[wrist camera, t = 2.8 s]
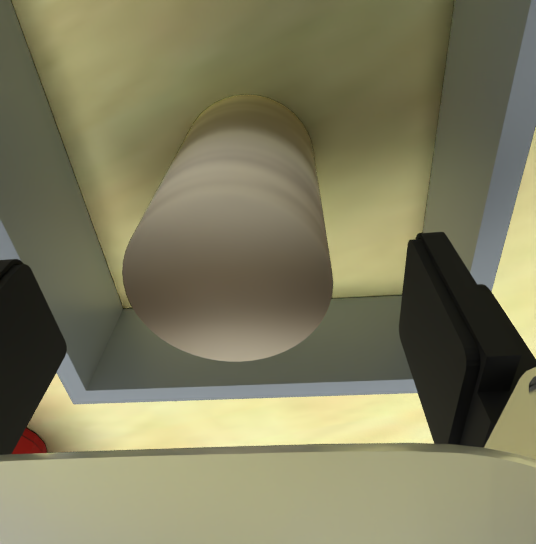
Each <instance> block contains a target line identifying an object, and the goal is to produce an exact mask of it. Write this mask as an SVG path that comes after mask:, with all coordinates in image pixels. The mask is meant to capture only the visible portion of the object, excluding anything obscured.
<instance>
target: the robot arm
mask: <svg viewBox="0 0 536 544" xmlns="http://www.w3.org/2000/svg"><path fill="white" fill-rule="evenodd" d="M399 336H400V340H401V343H402V346H403V349H404V352H405V355H406V359H407V362H408V365H409V368H410V371H411V374H412V377H413V380H414V383H415V386H416V389H417V392H418V395H419V398H420V401H421V404H422V407H423V410H424V413H425V416H426V419H427V422H428V425H429V429H430V432H431V435H432V438H433V441H434V444H427V443H363V444H308V445H273V446H238V447H204V448H173V449H143V450H114V451H86V452H58V453H33V454H12V452H13V451H14V449H15V447H16V445H17V443H18V441H19V440H20V438H21V436H22V434H23V432H24V430H25V429H26V427H27V425H28V423H29V421H30V420H31V418H32V416H33V414H34V412H35V410H36V409H37V407H38V405H39V403H40V401H41V399H42V398H43V396H44V394H45V392H46V390H47V389H48V387H49V385H50V383H51V381H52V379H53V378H54V376H55V374H56V372H57V370H58V369H59V367H60V365H61V363H62V361H63V359H64V358H65V355H66V352H67V345H66V342H65V339H64V337H63V335H62V333H61V331H60V329H59V327H58V325H57V322H56V320H55V318H54V316H53V314H52V312H51V310H50V308H49V306H48V303H47V301H46V299H45V297H44V295H43V293H42V291H41V289H40V287H39V284H38V282H37V280H36V278H35V276H34V274H33V272H32V270H31V268H30V267H29V266H28V265H26V264H24V263H23V262H22V261H21V260H19V259H8V260H0V544H536V359H535V357H534V356H533V354H532V353H531V351H530V350H529V348H528V347H527V345H526V344H525V342H524V341H523V339H522V338H521V336H520V335H519V333H518V332H517V330H516V329H515V327H514V326H513V324H512V322H511V321H510V319H509V318H508V316H507V315H506V313H505V312H504V310H503V309H502V307H501V306H500V304H499V303H498V301H497V300H496V298H495V297H494V295H493V294H492V292H491V291H490V289H489V288H488V287H487V286H486V285H483V284H477V283H476V282H475V280H474V278H473V277H472V275H471V274H470V272H469V270H468V269H467V267H466V266H465V264H464V262H463V261H462V259H461V258H460V256H459V255H458V253H457V251H456V250H455V248H454V247H453V245H452V243H451V242H450V240H449V239H448V237H447V235H446V234H445V233H444V232H431V233H418V234H417V237H416V240H409V242H408V248H407V257H406V266H405V275H404V284H403V293H402V302H401V311H400V320H399Z"/></svg>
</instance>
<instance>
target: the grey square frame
mask: <svg viewBox="0 0 536 544" xmlns="http://www.w3.org/2000/svg"><path fill="white" fill-rule="evenodd" d="M535 127H536V0H455V2H454V9H453V17H452V24H451V31H450V38H449V46H448V53H447V60H446V67H445V75H444V82H443V89H442V96H441V104H440V111H439V118H438V125H437V133H436V140H435V147H434V154H433V162H432V169H431V176H430V183H429V191H428V198H427V205H426V212H425V220H424V227H423V233H431V232H444V233H445V234H446V235H447V237H448V239H449V240H450V242H451V243H452V245H453V247H454V248H455V250H456V251H457V253H458V255H459V256H460V258H461V259H462V261H463V262H464V264H465V266H466V267H467V269H468V270H469V272H470V274H471V275H472V277H473V278H474V280H475V282H476V283H477V284H483V285H486V286H487V287H488V288H489V289H490V291H492V287H493V284H494V280H495V276H496V272H497V269H498V265H499V261H500V258H501V254H502V250H503V246H504V243H505V239H506V235H507V231H508V228H509V224H510V220H511V216H512V213H513V209H514V205H515V201H516V198H517V194H518V190H519V186H520V183H521V179H522V175H523V171H524V168H525V164H526V160H527V156H528V153H529V149H530V145H531V142H532V138H533V134H534V130H535ZM8 259H19V260H21V261H22V262H23V263H24V264H26V265H28V266H29V267H30V268H31V270H32V272H33V274H34V276H35V278H36V280H37V282H38V284H39V287H40V289H41V291H42V293H43V295H44V297H45V299H46V301H47V303H48V306H49V308H50V310H51V312H52V314H53V316H54V318H55V320H56V322H57V325H58V327H59V329H60V331H61V333H62V335H63V337H64V339H65V342H66V345H67V352H66V355H65V358H64V359H63V361H62V363H61V365H60V367H59V369H58V370H57V372H56V373H57V374H58V376H59V378H60V380H61V382H62V384H63V386H64V387H65V389H66V391H67V393H68V395H69V397H70V399H71V400H72V402H73V404H95V403H126V402H156V401H187V400H217V399H247V398H278V397H308V396H338V395H369V394H399V393H418V392H417V389H416V386H415V383H414V380H413V377H412V374H411V371H410V368H409V365H408V362H407V359H406V355H405V352H404V349H403V346H402V343H401V340H400V336H399V320H400V311H401V302H402V295H398V296H378V297H357V298H337V299H331V301H330V305H329V308H328V310H327V312H326V315H325V316H324V318H323V320H322V321H321V323H320V324H319V325H318V327H317V328H316V329H315V330H314V331H313V332H312V333H311V334H310V335H309V336H308V337H307V338H306V339H305V340H303V341H302V342H300V343H299V344H297V345H296V346H294V347H292V348H291V349H289V350H287V351H285V352H282V353H280V354H277V355H274V356H271V357H267V358H264V359H258V360H253V361H242V362H228V361H218V360H212V359H207V358H203V357H199V356H196V355H192V354H190V353H187V352H185V351H182V350H180V349H178V348H176V347H174V346H172V345H170V344H169V343H167V342H166V341H164V340H162V339H161V338H160V337H158V336H157V335H156V334H155V333H153V332H152V331H151V330H150V329H149V328H148V327H147V326H146V325H145V324H144V323H143V322H142V321H141V319H140V318H139V317H138V315H137V314H136V313H135V311H134V309H133V308H132V309H123V307H122V304H121V302H120V299H119V296H118V293H117V291H116V288H115V285H114V282H113V280H112V277H111V274H110V271H109V269H108V266H107V263H106V260H105V258H104V255H103V252H102V250H101V247H100V244H99V241H98V239H97V236H96V233H95V230H94V228H93V225H92V222H91V219H90V217H89V214H88V211H87V208H86V206H85V203H84V200H83V197H82V195H81V192H80V189H79V186H78V184H77V181H76V178H75V175H74V173H73V170H72V167H71V164H70V162H69V159H68V156H67V153H66V151H65V148H64V145H63V142H62V140H61V137H60V134H59V131H58V129H57V126H56V123H55V120H54V118H53V115H52V112H51V109H50V107H49V104H48V101H47V98H46V96H45V93H44V90H43V87H42V85H41V82H40V79H39V76H38V74H37V71H36V68H35V66H34V63H33V60H32V57H31V55H30V52H29V49H28V46H27V44H26V41H25V38H24V35H23V33H22V30H21V27H20V24H19V22H18V19H17V16H16V13H15V11H14V8H13V5H12V2H11V0H0V260H8Z"/></svg>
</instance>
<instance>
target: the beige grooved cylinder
mask: <svg viewBox="0 0 536 544" xmlns="http://www.w3.org/2000/svg"><path fill="white" fill-rule="evenodd" d="M122 275H123V284H124V288H125V291H126V295H127V297H128V300H129V302H130V304H131V306H132V308H133V309H134V311H135V313H136V314H137V315H138V317H139V318H140V319H141V321H142V322H143V323H144V324H145V325H146V326H147V327H148V328H149V329H150V330H151V331H152V332H153V333H155V334H156V335H157V336H158V337H160V338H161V339H162V340H164V341H166V342H167V343H169V344H170V345H172V346H174V347H176V348H178V349H180V350H182V351H185V352H187V353H190V354H192V355H196V356H199V357H203V358H207V359H212V360H218V361H228V362H242V361H253V360H258V359H264V358H267V357H271V356H274V355H277V354H280V353H282V352H285V351H287V350H289V349H291V348H292V347H294V346H296V345H297V344H299V343H300V342H302V341H303V340H305V339H306V338H307V337H308V336H309V335H310V334H311V333H312V332H313V331H314V330H315V329H316V328H317V327H318V325H319V324H320V323H321V321H322V320H323V318H324V316H325V315H326V312H327V310H328V308H329V305H330V301H331V297H332V291H333V277H332V269H331V262H330V256H329V249H328V243H327V236H326V230H325V224H324V217H323V211H322V204H321V198H320V191H319V185H318V178H317V172H316V165H315V159H314V152H313V147H312V143H311V140H310V137H309V134H308V132H307V130H306V129H305V127H304V125H303V124H302V122H301V121H300V120H299V118H298V117H297V116H296V115H295V114H294V113H293V112H292V111H290V110H289V109H288V108H287V107H285V106H284V105H282V104H280V103H279V102H277V101H274V100H272V99H270V98H266V97H263V96H258V95H236V96H231V97H228V98H224V99H222V100H220V101H217V102H215V103H214V104H212V105H211V106H209V107H208V108H207V109H205V110H204V111H203V112H202V113H201V114H200V115H199V116H198V118H197V119H196V120H195V122H194V123H193V125H192V126H191V128H190V130H189V132H188V134H187V136H186V137H185V139H184V141H183V143H182V145H181V147H180V149H179V150H178V152H177V154H176V156H175V158H174V160H173V162H172V163H171V165H170V167H169V169H168V171H167V173H166V175H165V176H164V178H163V180H162V182H161V184H160V186H159V188H158V189H157V191H156V193H155V195H154V197H153V199H152V201H151V202H150V204H149V206H148V208H147V210H146V212H145V214H144V215H143V217H142V219H141V221H140V223H139V225H138V226H137V228H136V230H135V232H134V234H133V236H132V238H131V239H130V242H129V244H128V246H127V249H126V251H125V255H124V260H123V270H122Z"/></svg>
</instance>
